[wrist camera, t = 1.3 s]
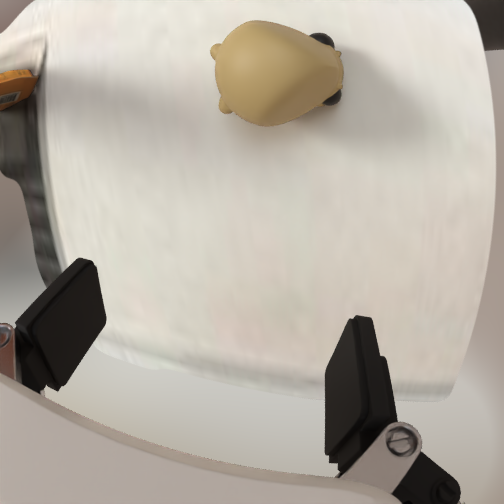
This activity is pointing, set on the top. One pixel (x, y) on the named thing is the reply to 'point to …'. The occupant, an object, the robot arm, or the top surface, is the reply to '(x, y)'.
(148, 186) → the top surface
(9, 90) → the pancake mix bag
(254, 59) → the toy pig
